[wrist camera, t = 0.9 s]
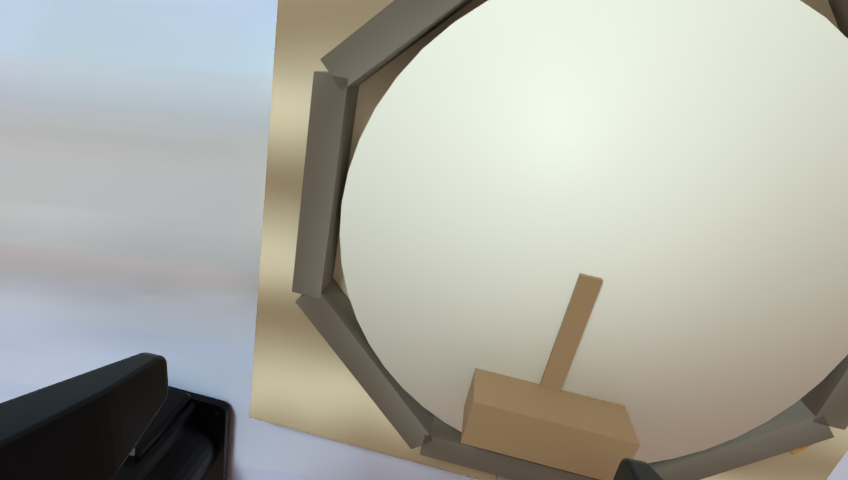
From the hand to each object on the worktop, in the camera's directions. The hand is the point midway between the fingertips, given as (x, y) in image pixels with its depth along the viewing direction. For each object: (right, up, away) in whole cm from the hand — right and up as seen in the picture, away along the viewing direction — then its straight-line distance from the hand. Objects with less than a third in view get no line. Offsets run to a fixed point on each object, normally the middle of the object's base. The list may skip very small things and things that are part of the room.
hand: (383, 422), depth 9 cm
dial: (+7, +3, +9) cm, 12 cm away
